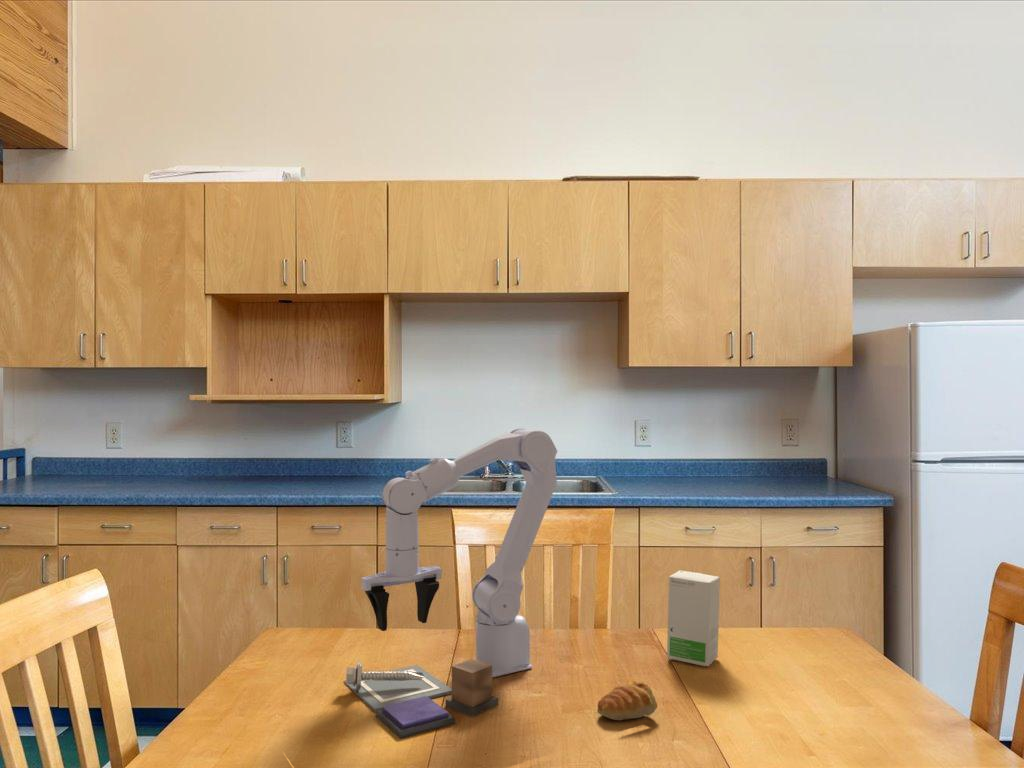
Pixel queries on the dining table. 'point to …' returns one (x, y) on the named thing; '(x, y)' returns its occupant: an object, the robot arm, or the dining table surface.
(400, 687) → the marked board
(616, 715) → the pastry
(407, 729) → the ink pad
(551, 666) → the dining table surface
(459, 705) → the stamp
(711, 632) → the skincare box
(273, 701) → the dining table surface
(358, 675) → the screw
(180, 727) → the dining table surface
